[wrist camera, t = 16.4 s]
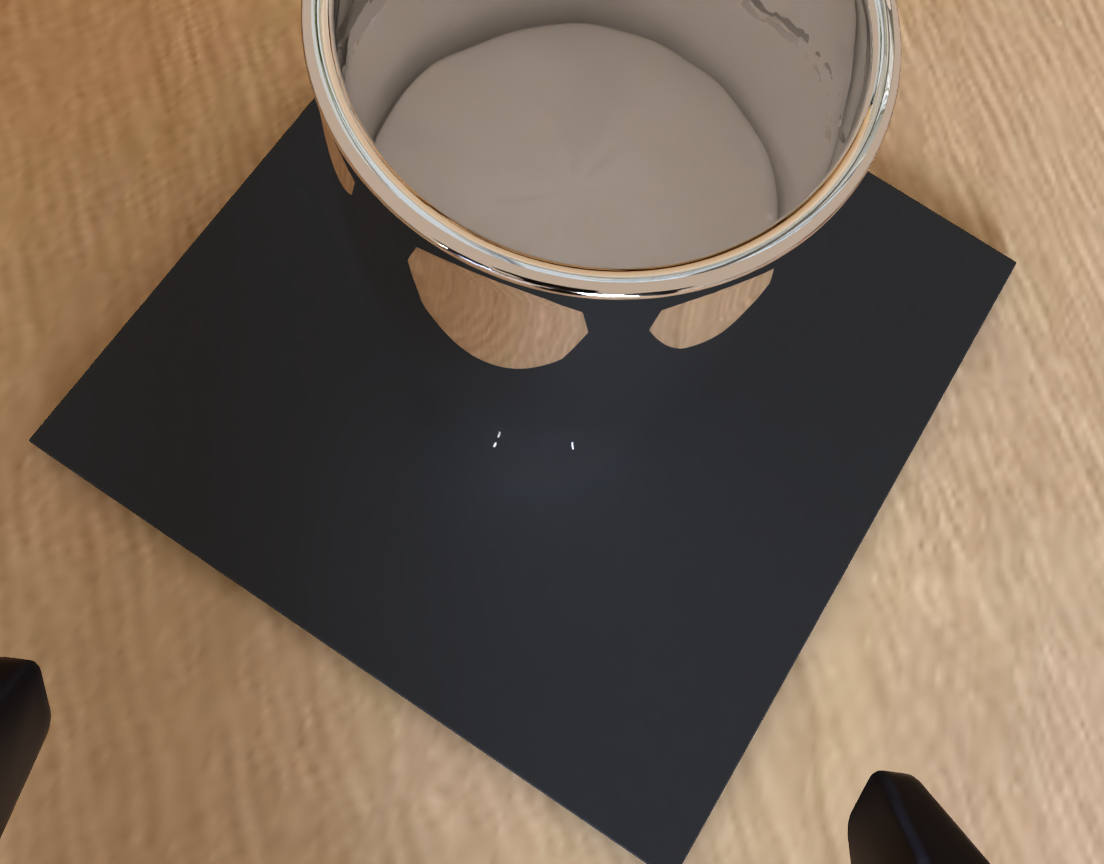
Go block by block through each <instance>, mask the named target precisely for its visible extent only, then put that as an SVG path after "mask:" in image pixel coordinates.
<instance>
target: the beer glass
mask: <svg viewBox="0 0 1104 864" xmlns="http://www.w3.org/2000/svg"><path fill="white" fill-rule="evenodd" d="M301 33H302V45H303V52H304V59H305V64H306V69H307V73H308V77H309V81H310V85H311V88H312V91H313V94H314V97H315V100H316V102H317V105H318V108H319V112H320V118H321V124H322V130H323V136H324V142H325V148H326V153H327V158H328V163H329V168H330V172H331V177H332V182H333V187H334V192H335V196H336V201H337V205H338V209H339V213H340V216H341V220H342V223H343V226H344V230H345V233H346V236H347V240H348V243H349V246H350V250H351V253H352V256H353V260H354V263H355V265H356V268H357V271H358V273H359V276H360V278H361V280H362V283H363V285H364V287H365V289H366V291H367V293H368V295H369V297H370V300H371V302H372V304H373V306H374V308H375V310H376V312H377V314H378V316H379V319H380V321H381V322H382V324H383V326H384V328H385V330H386V331H387V333H388V334H389V336H390V338H391V339H392V340H393V342H394V343H395V345H396V346H397V347H398V349H399V350H400V351H401V353H402V354H403V355H404V356H405V357H406V359H407V360H408V361H409V362H410V364H411V365H412V366H413V367H414V368H415V370H416V371H417V372H418V373H419V374H420V376H421V377H422V378H423V379H424V380H425V393H426V401H427V406H428V410H429V414H430V417H431V420H432V423H433V425H434V427H435V430H436V432H437V434H438V435H439V437H440V439H441V440H442V442H443V444H444V445H445V446H446V448H447V449H448V450H449V452H450V453H451V454H452V455H453V456H454V457H455V458H456V459H457V460H458V461H459V462H460V463H461V464H462V465H463V466H464V467H465V468H467V469H468V470H469V471H471V472H472V473H474V474H475V475H477V476H478V477H480V478H482V479H484V480H486V481H488V482H490V483H492V484H494V485H497V486H500V487H503V488H506V489H510V490H514V491H520V492H529V493H547V492H556V491H561V490H566V489H569V488H572V487H575V486H578V485H581V484H583V483H585V482H587V481H589V480H591V479H592V478H594V477H596V476H597V475H599V474H600V473H602V472H603V471H605V470H606V469H607V468H608V467H610V466H611V465H612V464H613V463H614V462H615V461H616V460H617V459H618V458H619V457H620V456H621V455H622V454H623V453H624V452H625V450H626V449H627V448H628V446H629V445H630V443H631V442H632V440H633V438H634V437H635V435H636V433H637V431H638V429H639V426H640V424H641V422H643V421H645V420H647V419H649V418H650V417H652V416H654V415H656V414H658V413H659V412H661V411H663V410H665V409H667V408H668V407H670V406H672V405H674V404H676V403H677V402H679V401H681V400H682V399H684V398H685V397H687V396H688V395H690V394H691V393H692V392H694V391H695V390H696V389H697V388H699V387H700V386H701V385H702V384H704V383H705V382H706V381H707V380H708V379H709V378H710V377H711V376H712V375H713V374H714V373H715V372H716V371H718V370H719V369H720V368H721V367H722V366H723V365H724V364H725V363H726V362H727V361H728V360H729V359H730V358H731V357H732V356H733V355H734V354H735V353H736V352H737V351H739V349H740V348H741V347H742V346H743V345H744V344H745V343H746V342H747V341H748V340H749V338H750V337H751V336H752V335H753V334H754V332H755V331H756V330H757V329H758V327H759V326H760V325H761V323H762V322H763V321H764V320H765V318H766V317H767V316H768V315H769V313H770V312H771V311H772V309H773V308H774V307H775V306H776V304H777V303H778V302H779V300H780V299H781V298H782V296H783V295H784V294H785V292H786V291H787V289H788V288H789V286H790V285H791V283H792V282H793V280H794V279H795V277H796V276H797V274H798V273H799V271H800V269H801V268H802V266H803V265H804V263H805V262H806V260H807V259H808V257H809V256H810V254H811V253H812V251H813V250H814V248H815V246H816V245H817V243H818V241H819V240H820V238H821V236H822V235H823V233H824V231H825V230H826V228H827V226H828V225H829V223H830V221H831V220H832V218H833V217H834V215H835V214H836V212H837V211H838V210H839V209H840V208H841V207H842V206H843V204H844V203H845V202H846V201H847V200H848V198H849V197H850V196H851V195H852V193H853V192H854V191H855V189H856V188H857V187H858V185H859V184H860V182H861V181H862V179H863V178H864V176H865V175H866V173H867V171H868V170H869V168H870V166H871V165H872V163H873V161H874V159H875V157H876V155H877V153H878V151H879V149H880V147H881V144H882V142H883V140H884V137H885V135H886V132H887V129H888V127H889V124H890V121H891V118H892V114H893V111H894V107H895V103H896V98H897V93H898V87H899V80H900V70H901V32H900V22H899V14H898V9H897V3H896V0H302V1H301Z"/></svg>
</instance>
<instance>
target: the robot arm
mask: <svg viewBox="0 0 1104 864" xmlns="http://www.w3.org/2000/svg"><path fill="white" fill-rule="evenodd" d="M50 721H51V711H50V706H49V702H48V698H47V694H46V690H45V686H44V681H43V677H42V673H41V670H40V667H39V666H38V665H37V664H36V663H35V662H34V661H31V660H25V659H18V658H10V657H0V838H1V836H2V833H3V831H4V829H5V827H6V824H7V822H8V820H9V818H10V816H11V813H12V811H13V809H14V807H15V805H16V802H17V800H18V798H19V796H20V793H21V791H22V789H23V787H24V785H25V782H26V780H27V778H28V776H29V773H30V771H31V769H32V767H33V765H34V762H35V760H36V758H37V756H38V754H39V751H40V749H41V747H42V745H43V742H44V740H45V738H46V736H47V733H48V730H49V726H50ZM848 841H849V850H850V858H851V864H990V863H989V862H988V860H987V859H986V858H985V857H984V856H983V855H982V853H981V852H980V851H979V850H978V849H977V848H976V846H975V845H974V844H973V843H972V842H971V841H970V839H969V838H968V837H967V836H966V835H965V834H964V832H963V831H962V830H961V829H960V828H959V827H958V825H957V824H956V823H955V822H954V821H953V820H952V818H951V817H950V816H949V815H948V814H947V813H946V812H945V810H944V809H943V808H942V807H941V806H940V805H939V803H938V802H937V801H936V800H935V799H934V798H933V796H932V795H931V794H930V793H929V792H928V791H927V789H926V788H925V787H924V786H923V785H922V784H921V782H920V781H919V780H917V779H916V778H915V777H913V776H911V775H909V774H904V773H897V772H889V771H877V772H875V773H873V774H872V775H871V777H870V778H869V780H868V782H867V784H866V786H865V787H864V789H863V791H862V793H861V795H860V797H859V799H858V801H857V803H856V804H855V806H854V808H853V810H852V812H851V815H850V818H849V822H848Z"/></svg>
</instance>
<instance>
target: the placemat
mask: <svg viewBox="0 0 1104 864" xmlns="http://www.w3.org/2000/svg"><path fill="white" fill-rule="evenodd" d="M1015 265H1016V262H1015V261H1013V260H1012V259H1010V258H1008V257H1007V256H1005V255H1003V254H1002V253H1000V252H998V251H997V250H995V249H994V248H992V247H990V246H989V245H987V244H985V243H984V242H982V241H981V240H979V239H977V238H976V237H974V236H972V235H971V234H969V233H968V232H966V231H964V230H963V229H961V228H959V227H958V226H956V225H954V224H953V223H951V222H950V221H948V220H946V219H945V218H943V217H941V216H940V215H938V214H937V213H935V212H933V211H932V210H930V209H928V208H927V207H925V206H924V205H922V204H920V203H919V202H917V201H915V200H914V199H912V198H910V197H909V196H907V195H906V194H904V193H902V192H901V191H899V190H897V189H896V188H894V187H893V186H891V185H889V184H888V183H886V182H884V181H883V180H881V179H879V178H878V177H876V176H875V175H873V174H871V173H870V172H868V171H867V173H866V175H865V176H864V178H863V179H862V181H861V182H860V184H859V185H858V187H857V188H856V189H855V191H854V192H853V193H852V195H851V196H850V197H849V198H848V200H847V201H846V202H845V203H844V204H843V206H842V207H841V208H840V209H839V210H838V211H837V212H836V214H835V215H834V217H833V218H832V220H831V221H830V223H829V225H828V226H827V228H826V230H825V231H824V233H823V235H822V236H821V238H820V240H819V241H818V243H817V245H816V246H815V248H814V250H813V251H812V253H811V254H810V256H809V257H808V259H807V260H806V262H805V263H804V265H803V266H802V268H801V269H800V271H799V273H798V274H797V276H796V277H795V279H794V280H793V282H792V283H791V285H790V286H789V288H788V289H787V291H786V292H785V294H784V295H783V296H782V298H781V299H780V300H779V302H778V303H777V304H776V306H775V307H774V308H773V309H772V311H771V312H770V313H769V315H768V316H767V317H766V318H765V320H764V321H763V322H762V323H761V325H760V326H759V327H758V329H757V330H756V331H755V332H754V334H753V335H752V336H751V337H750V338H749V340H748V341H747V342H746V343H745V344H744V345H743V346H742V347H741V348H740V349H739V351H737V352H736V353H735V354H734V355H733V356H732V357H731V358H730V359H729V360H728V361H727V362H726V363H725V364H724V365H723V366H722V367H721V368H720V369H719V370H718V371H716V372H715V373H714V374H713V375H712V376H711V377H710V378H709V379H708V380H707V381H706V382H705V383H704V384H702V385H701V386H700V387H699V388H697V389H696V390H695V391H694V392H692V393H691V394H690V395H688V396H687V397H685V398H684V399H682V400H681V401H679V402H677V403H676V404H674V405H672V406H670V407H668V408H667V409H665V410H663V411H661V412H659V413H658V414H656V415H654V416H652V417H650V418H649V419H647V420H645V421H643V422H641V424H640V426H639V429H638V431H637V433H636V435H635V437H634V438H633V440H632V442H631V443H630V445H629V446H628V448H627V449H626V450H625V452H624V453H623V454H622V455H621V456H620V457H619V458H618V459H617V460H616V461H615V462H614V463H613V464H612V465H611V466H610V467H608V468H607V469H606V470H605V471H603V472H602V473H600V474H599V475H597V476H596V477H594V478H592V479H591V480H589V481H587V482H585V483H583V484H581V485H578V486H575V487H572V488H569V489H566V490H561V491H556V492H547V493H529V492H520V491H514V490H510V489H506V488H503V487H500V486H497V485H494V484H492V483H490V482H488V481H486V480H484V479H482V478H480V477H478V476H477V475H475V474H474V473H472V472H471V471H469V470H468V469H467V468H465V467H464V466H463V465H462V464H461V463H460V462H459V461H458V460H457V459H456V458H455V457H454V456H453V455H452V454H451V453H450V452H449V450H448V449H447V448H446V446H445V445H444V444H443V442H442V440H441V439H440V437H439V435H438V434H437V432H436V430H435V427H434V425H433V423H432V420H431V417H430V414H429V410H428V406H427V401H426V393H425V380H424V379H423V378H422V377H421V376H420V374H419V373H418V372H417V371H416V370H415V368H414V367H413V366H412V365H411V364H410V362H409V361H408V360H407V359H406V357H405V356H404V355H403V354H402V353H401V351H400V350H399V349H398V347H397V346H396V345H395V343H394V342H393V340H392V339H391V338H390V336H389V334H388V333H387V331H386V330H385V328H384V326H383V324H382V322H381V321H380V319H379V316H378V314H377V312H376V310H375V308H374V306H373V304H372V302H371V300H370V297H369V295H368V293H367V291H366V289H365V287H364V285H363V283H362V280H361V278H360V276H359V273H358V271H357V268H356V265H355V263H354V260H353V256H352V253H351V250H350V246H349V243H348V240H347V236H346V233H345V230H344V226H343V223H342V220H341V216H340V213H339V209H338V205H337V201H336V196H335V192H334V187H333V182H332V177H331V172H330V168H329V163H328V158H327V153H326V148H325V142H324V136H323V130H322V124H321V118H320V112H319V108H318V105H317V102H316V100H315V98H314V99H313V100H312V101H311V103H310V104H309V105H308V106H307V107H306V109H305V110H304V111H303V112H302V113H301V115H300V116H299V117H298V118H297V119H296V121H295V122H294V123H293V124H292V125H291V127H290V128H289V129H288V130H287V131H286V133H285V134H284V135H283V136H282V137H281V139H280V140H279V141H278V142H277V143H276V145H275V146H274V147H273V148H272V149H271V151H270V152H269V153H268V154H267V155H266V157H265V158H264V159H263V160H262V161H261V163H260V164H259V165H258V166H257V167H256V169H255V170H254V171H253V172H252V173H251V175H250V176H249V177H248V178H247V179H246V181H245V182H244V183H243V184H242V185H241V187H240V188H239V189H238V190H237V191H236V193H235V194H234V195H233V196H232V197H231V199H230V200H229V201H228V202H227V203H226V205H225V206H224V207H223V208H222V209H221V210H220V212H219V213H218V214H217V215H216V216H215V218H214V219H213V220H212V221H211V222H210V224H209V225H208V226H207V227H206V228H205V230H204V231H203V232H202V233H201V234H200V236H199V237H198V238H197V239H196V240H195V242H194V243H193V244H192V245H191V246H190V248H189V249H188V250H187V251H186V252H185V254H184V255H183V256H182V257H181V258H180V260H179V261H178V262H177V263H176V264H175V266H174V267H173V268H172V269H171V270H170V272H169V273H168V274H167V275H166V276H165V278H164V279H163V280H162V281H161V282H160V284H159V285H158V286H157V287H156V288H155V290H154V291H153V292H152V293H151V294H150V296H149V297H148V298H147V299H146V300H145V302H144V303H143V304H142V305H141V306H140V308H139V309H138V310H137V311H136V312H135V314H134V315H133V316H132V317H131V318H130V319H129V321H128V322H127V323H126V324H125V325H124V327H123V328H122V329H121V330H120V331H119V333H118V334H117V335H116V336H115V337H114V339H113V340H112V341H111V342H110V343H109V345H108V346H107V347H106V348H105V349H104V351H103V352H102V353H101V354H100V355H99V357H98V358H97V359H96V360H95V361H94V363H93V364H92V365H91V366H90V367H89V369H88V370H87V371H86V372H85V373H84V375H83V376H82V377H81V378H80V379H79V381H78V382H77V383H76V384H75V385H74V387H73V388H72V389H71V390H70V391H69V393H68V394H67V395H66V396H65V397H64V399H63V400H62V401H61V402H60V403H59V405H58V406H57V407H56V408H55V409H54V411H53V412H52V413H51V414H50V415H49V417H48V418H47V419H46V420H45V421H44V423H43V424H42V425H41V426H40V427H39V428H38V430H37V431H36V432H35V433H34V434H33V436H32V437H31V438H30V439H29V441H30V442H31V443H32V444H34V445H35V446H37V447H38V448H40V449H41V450H43V451H44V452H46V453H47V454H49V455H50V456H51V457H53V458H54V459H56V460H57V461H59V462H60V463H62V464H63V465H65V466H66V467H68V468H69V469H70V470H72V471H73V472H75V473H76V474H78V475H79V476H81V477H82V478H84V479H85V480H87V481H88V482H89V483H91V484H92V485H94V486H95V487H97V488H98V489H100V490H101V491H103V492H104V493H106V494H107V495H108V496H110V497H111V498H113V499H114V500H116V501H117V502H119V503H120V504H122V505H123V506H125V507H126V508H127V509H129V510H130V511H132V512H133V513H135V514H136V515H138V516H139V517H141V518H142V519H144V520H145V521H146V522H148V523H149V524H151V525H152V526H154V527H155V528H157V529H158V530H160V531H161V532H163V533H164V534H165V535H167V536H168V537H170V538H171V539H173V540H174V541H176V542H177V543H179V544H180V545H182V546H183V547H184V548H186V549H187V550H189V551H190V552H192V553H193V554H195V555H196V556H198V557H199V558H201V559H202V560H203V561H205V562H206V563H208V564H209V565H211V566H212V567H214V568H215V569H217V570H218V571H220V572H221V573H223V574H224V575H225V576H227V577H228V578H230V579H231V580H233V581H234V582H236V583H237V584H239V585H240V586H242V587H243V588H244V589H246V590H247V591H249V592H250V593H252V594H253V595H255V596H256V597H258V598H259V599H261V600H262V601H263V602H265V603H266V604H268V605H269V606H271V607H272V608H274V609H275V610H277V611H278V612H280V613H281V614H282V615H284V616H285V617H287V618H288V619H290V620H291V621H293V622H294V623H296V624H297V625H299V626H300V627H301V628H303V629H304V630H306V631H307V632H309V633H310V634H312V635H313V636H315V637H316V638H318V639H319V640H320V641H322V642H323V643H325V644H326V645H328V646H329V647H331V648H332V649H334V650H335V651H337V652H338V653H339V654H341V655H342V656H344V657H345V658H347V659H348V660H350V661H351V662H353V663H354V664H356V665H357V666H358V667H360V668H361V669H363V670H364V671H366V672H367V673H369V674H370V675H372V676H373V677H375V678H376V679H377V680H379V681H380V682H382V683H383V684H385V685H386V686H388V687H389V688H391V689H392V690H394V691H395V692H397V693H398V694H399V695H401V696H402V697H404V698H405V699H407V700H408V701H410V702H411V703H413V704H414V705H416V706H417V707H418V708H420V709H421V710H423V711H424V712H426V713H427V714H429V715H430V716H432V717H433V718H435V719H436V720H437V721H439V722H440V723H442V724H443V725H445V726H446V727H448V728H449V729H451V730H452V731H454V732H455V733H456V734H458V735H459V736H461V737H462V738H464V739H465V740H467V741H468V742H470V743H471V744H473V745H474V746H475V747H477V748H478V749H480V750H481V751H483V752H484V753H486V754H487V755H489V756H490V757H492V758H493V759H494V760H496V761H497V762H499V763H500V764H502V765H503V766H505V767H506V768H508V769H509V770H511V771H512V772H513V773H515V774H516V775H518V776H519V777H521V778H522V779H524V780H525V781H527V782H528V783H530V784H531V785H532V786H534V787H535V788H537V789H538V790H540V791H541V792H543V793H544V794H546V795H547V796H549V797H550V798H552V799H553V800H554V801H556V802H557V803H559V804H560V805H562V806H563V807H565V808H566V809H568V810H569V811H571V812H572V813H573V814H575V815H576V816H578V817H579V818H581V819H582V820H584V821H585V822H587V823H588V824H590V825H591V826H592V827H594V828H595V829H597V830H598V831H600V832H601V833H603V834H604V835H606V836H607V837H609V838H610V839H611V840H613V841H614V842H616V843H617V844H619V845H620V846H622V847H623V848H625V849H626V850H628V851H629V852H630V853H632V854H633V855H635V856H636V857H638V858H639V859H641V860H642V861H644V862H645V863H647V864H682V863H683V862H684V860H685V858H686V856H687V854H688V853H689V851H690V849H691V847H692V845H693V844H694V842H695V840H696V838H697V836H698V835H699V833H700V831H701V829H702V827H703V826H704V824H705V822H706V820H707V818H708V817H709V815H710V813H711V811H712V809H713V808H714V806H715V804H716V802H717V800H718V799H719V797H720V795H721V793H722V791H723V790H724V788H725V786H726V784H727V782H728V781H729V779H730V777H731V775H732V773H733V772H734V770H735V768H736V766H737V765H738V763H739V761H740V759H741V757H742V756H743V754H744V752H745V750H746V748H747V747H748V745H749V743H750V741H751V739H752V738H753V736H754V734H755V732H756V730H757V729H758V727H759V725H760V723H761V721H762V720H763V718H764V716H765V714H766V712H767V711H768V709H769V707H770V705H771V703H772V702H773V700H774V698H775V696H776V694H777V693H778V691H779V689H780V687H781V685H782V684H783V682H784V680H785V678H786V676H787V675H788V673H789V671H790V669H791V667H792V666H793V664H794V662H795V660H796V658H797V657H798V655H799V653H800V651H801V649H802V648H803V646H804V644H805V642H806V640H807V639H808V637H809V635H810V633H811V631H812V630H813V628H814V626H815V624H816V622H817V621H818V619H819V617H820V615H821V613H822V612H823V610H824V608H825V606H826V604H827V603H828V601H829V599H830V597H831V596H832V594H833V592H834V590H835V588H836V587H837V585H838V583H839V581H840V579H841V578H842V576H843V574H844V572H845V570H846V569H847V567H848V565H849V563H850V561H851V560H852V558H853V556H854V554H855V552H856V551H857V549H858V547H859V545H860V543H861V542H862V540H863V538H864V536H865V534H866V533H867V531H868V529H869V527H870V525H871V524H872V522H873V520H874V518H875V516H876V515H877V513H878V511H879V509H880V507H881V506H882V504H883V502H884V500H885V498H886V497H887V495H888V493H889V491H890V489H891V488H892V486H893V484H894V482H895V480H896V479H897V477H898V475H899V473H900V471H901V470H902V468H903V466H904V464H905V462H906V461H907V459H908V457H909V455H910V453H911V452H912V450H913V448H914V446H915V444H916V443H917V441H918V439H919V437H920V435H921V434H922V432H923V430H924V428H925V426H926V425H927V423H928V421H929V419H930V418H931V416H932V414H933V412H934V410H935V409H936V407H937V405H938V403H939V401H940V400H941V398H942V396H943V394H944V392H945V391H946V389H947V387H948V385H949V383H950V382H951V380H952V378H953V376H954V374H955V373H956V371H957V369H958V367H959V365H960V364H961V362H962V360H963V358H964V356H965V355H966V353H967V351H968V349H969V347H970V346H971V344H972V342H973V340H974V338H975V337H976V335H977V333H978V331H979V329H980V328H981V326H982V324H983V322H984V320H985V319H986V317H987V315H988V313H989V311H990V310H991V308H992V306H993V304H994V302H995V301H996V299H997V297H998V295H999V293H1000V292H1001V290H1002V288H1003V286H1004V284H1005V283H1006V281H1007V279H1008V277H1009V275H1010V274H1011V272H1012V270H1013V268H1014V266H1015Z"/></svg>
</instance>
